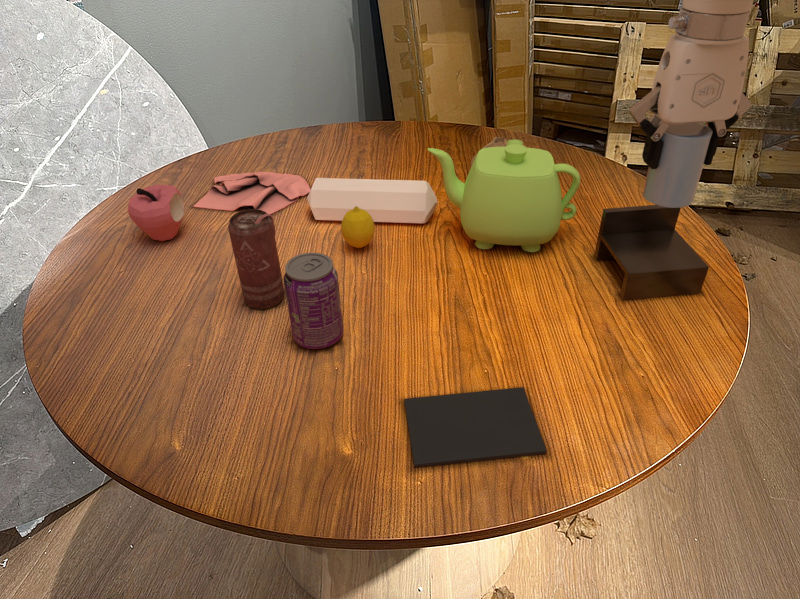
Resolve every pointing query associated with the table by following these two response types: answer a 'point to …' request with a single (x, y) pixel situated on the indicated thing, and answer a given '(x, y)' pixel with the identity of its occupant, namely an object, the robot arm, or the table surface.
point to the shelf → (649, 252)
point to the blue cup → (678, 165)
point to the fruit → (357, 227)
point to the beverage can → (313, 300)
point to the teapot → (510, 195)
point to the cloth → (254, 192)
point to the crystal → (373, 199)
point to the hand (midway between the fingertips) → (676, 162)
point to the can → (256, 258)
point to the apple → (157, 211)
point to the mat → (472, 427)
